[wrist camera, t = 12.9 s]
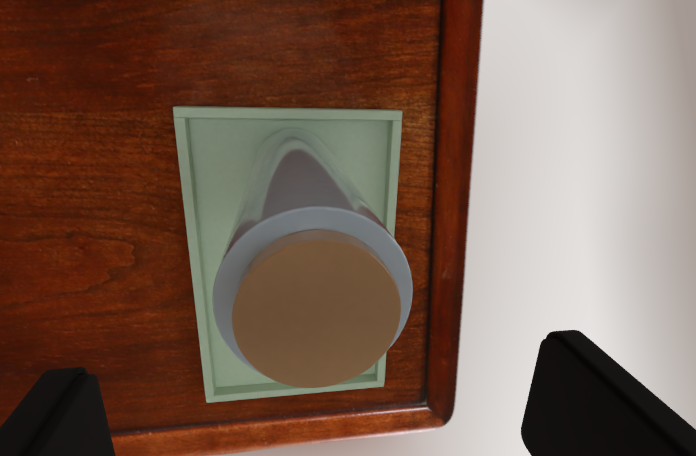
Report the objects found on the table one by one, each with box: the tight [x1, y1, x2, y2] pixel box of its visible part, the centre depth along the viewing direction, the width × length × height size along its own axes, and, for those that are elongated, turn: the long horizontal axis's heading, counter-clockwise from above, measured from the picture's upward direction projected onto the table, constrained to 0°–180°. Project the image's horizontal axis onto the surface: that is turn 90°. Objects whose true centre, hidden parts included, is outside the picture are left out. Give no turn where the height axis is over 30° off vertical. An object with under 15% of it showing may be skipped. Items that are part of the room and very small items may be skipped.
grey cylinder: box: [212, 128, 413, 388], centre depth 24 cm, size 7×7×24 cm
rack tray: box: [173, 106, 402, 403], centre depth 37 cm, size 28×18×2 cm, turn 179°
